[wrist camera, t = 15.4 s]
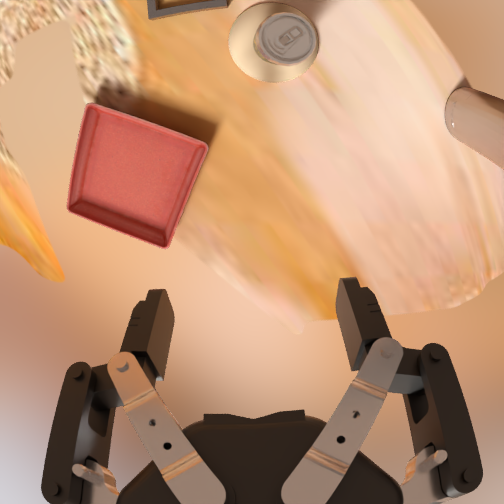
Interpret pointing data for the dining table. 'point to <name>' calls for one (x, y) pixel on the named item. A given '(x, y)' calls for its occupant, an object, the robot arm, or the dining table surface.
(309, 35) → the beer can
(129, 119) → the plant saucer
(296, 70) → the coaster
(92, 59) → the dining table surface
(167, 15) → the collar
